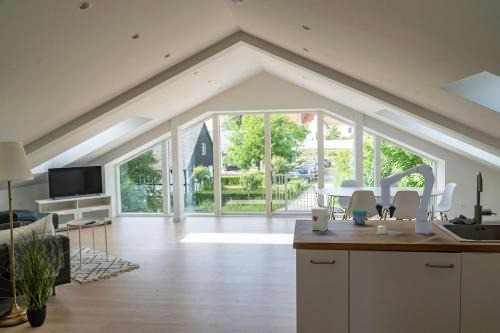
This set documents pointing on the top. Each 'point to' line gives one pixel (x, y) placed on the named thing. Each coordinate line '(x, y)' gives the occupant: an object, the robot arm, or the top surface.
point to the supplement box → (319, 218)
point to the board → (391, 233)
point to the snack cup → (359, 215)
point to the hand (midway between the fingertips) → (385, 217)
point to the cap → (382, 229)
